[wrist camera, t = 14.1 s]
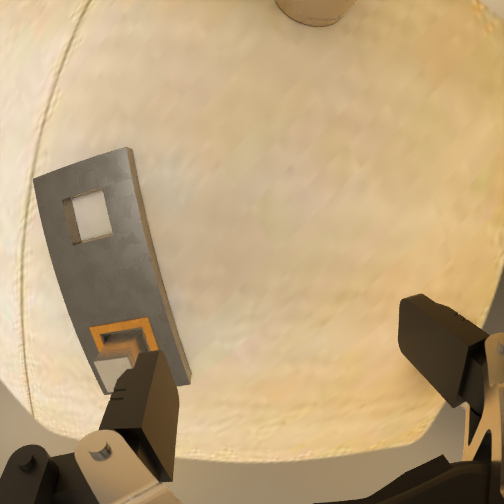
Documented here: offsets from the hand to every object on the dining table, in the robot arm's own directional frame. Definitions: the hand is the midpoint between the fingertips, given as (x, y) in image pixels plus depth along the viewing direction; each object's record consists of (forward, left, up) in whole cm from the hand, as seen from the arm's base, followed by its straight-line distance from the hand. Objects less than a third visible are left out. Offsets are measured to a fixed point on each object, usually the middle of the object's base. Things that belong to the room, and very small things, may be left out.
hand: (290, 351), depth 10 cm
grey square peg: (+11, -16, -26) cm, 32 cm away
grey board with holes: (+3, -16, -26) cm, 31 cm away
